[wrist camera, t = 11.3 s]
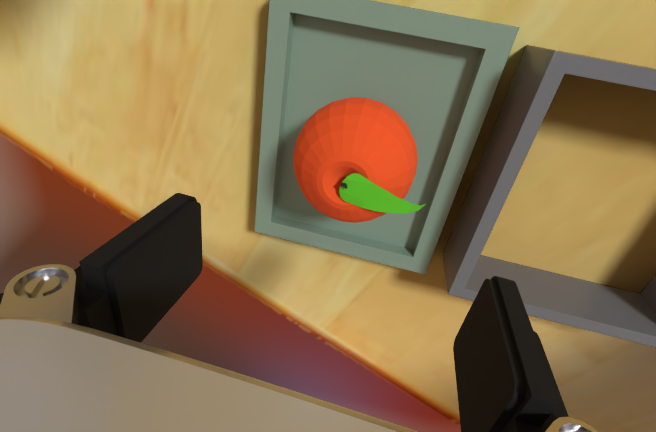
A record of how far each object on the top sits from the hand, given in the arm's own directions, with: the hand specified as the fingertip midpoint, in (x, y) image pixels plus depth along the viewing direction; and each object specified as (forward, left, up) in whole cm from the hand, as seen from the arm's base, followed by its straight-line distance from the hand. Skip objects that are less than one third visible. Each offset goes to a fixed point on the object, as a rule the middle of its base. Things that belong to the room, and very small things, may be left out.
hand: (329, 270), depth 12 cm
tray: (+1, 0, -15) cm, 14 cm away
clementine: (0, 0, -14) cm, 14 cm away
